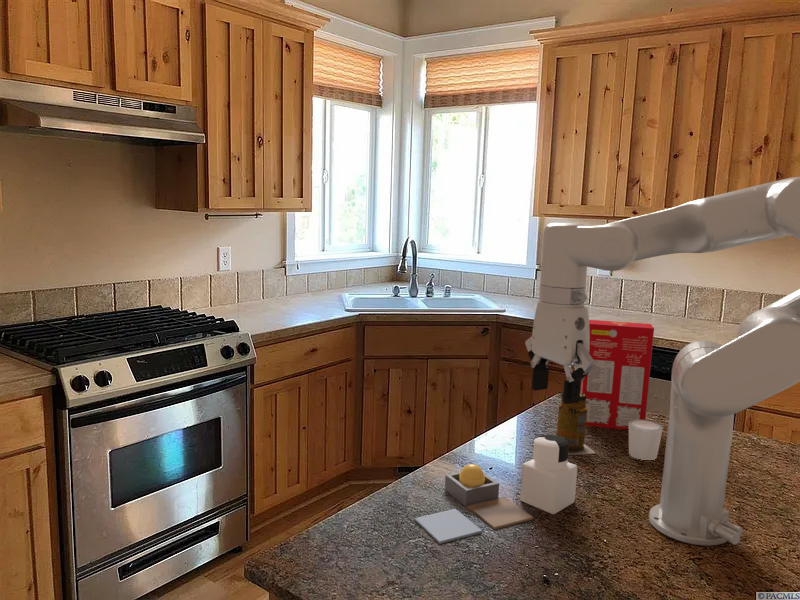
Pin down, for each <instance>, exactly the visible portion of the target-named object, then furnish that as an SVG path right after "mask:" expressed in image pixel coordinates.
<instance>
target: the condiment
mask: <svg viewBox="0 0 800 600" xmlns="http://www.w3.org/2000/svg"><path fill="white" fill-rule="evenodd" d="M585 405H586V395H585V394H584V393H582V392H581V391H580V400H579V402H578V403H571V404H564V403H563V391H562V392H561V397H560V403H559V404H558V410H557V413H558V414H557V424H556V435H557V436H560V437H562V438H564V439H566V440H567V441H568V443H569V452H568V456H575V455H582V456H583V455H589V454H590V455H591V454H596V452H595V451H594V450H593V449H592V448H590V447H589V446H587V445H586V444H585V438H586V429H587V426H586V418H587V407H586V406H585ZM583 449H584V450H583ZM581 450H582V451H581Z"/></svg>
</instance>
